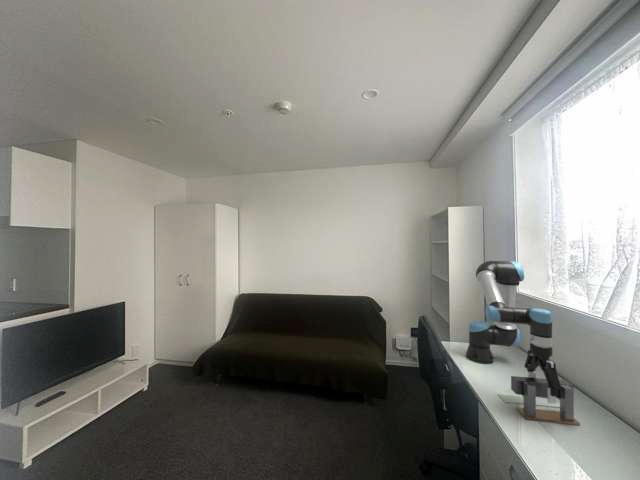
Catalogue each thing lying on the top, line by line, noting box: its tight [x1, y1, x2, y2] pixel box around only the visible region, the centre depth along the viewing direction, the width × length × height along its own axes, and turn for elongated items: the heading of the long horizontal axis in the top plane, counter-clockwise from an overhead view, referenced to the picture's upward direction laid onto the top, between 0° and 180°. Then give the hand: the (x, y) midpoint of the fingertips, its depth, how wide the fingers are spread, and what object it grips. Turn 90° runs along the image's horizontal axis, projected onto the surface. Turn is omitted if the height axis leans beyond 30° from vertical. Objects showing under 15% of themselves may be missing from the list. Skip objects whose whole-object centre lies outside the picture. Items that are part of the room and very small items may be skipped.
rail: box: [510, 375, 575, 399], centre depth 113 cm, size 4×22×6 cm, turn 81°
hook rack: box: [515, 382, 581, 426], centre depth 112 cm, size 10×20×14 cm, turn 81°
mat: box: [497, 393, 560, 409], centre depth 121 cm, size 6×24×1 cm, turn 81°
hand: (541, 394), depth 113 cm, fingers open, 12 cm apart
